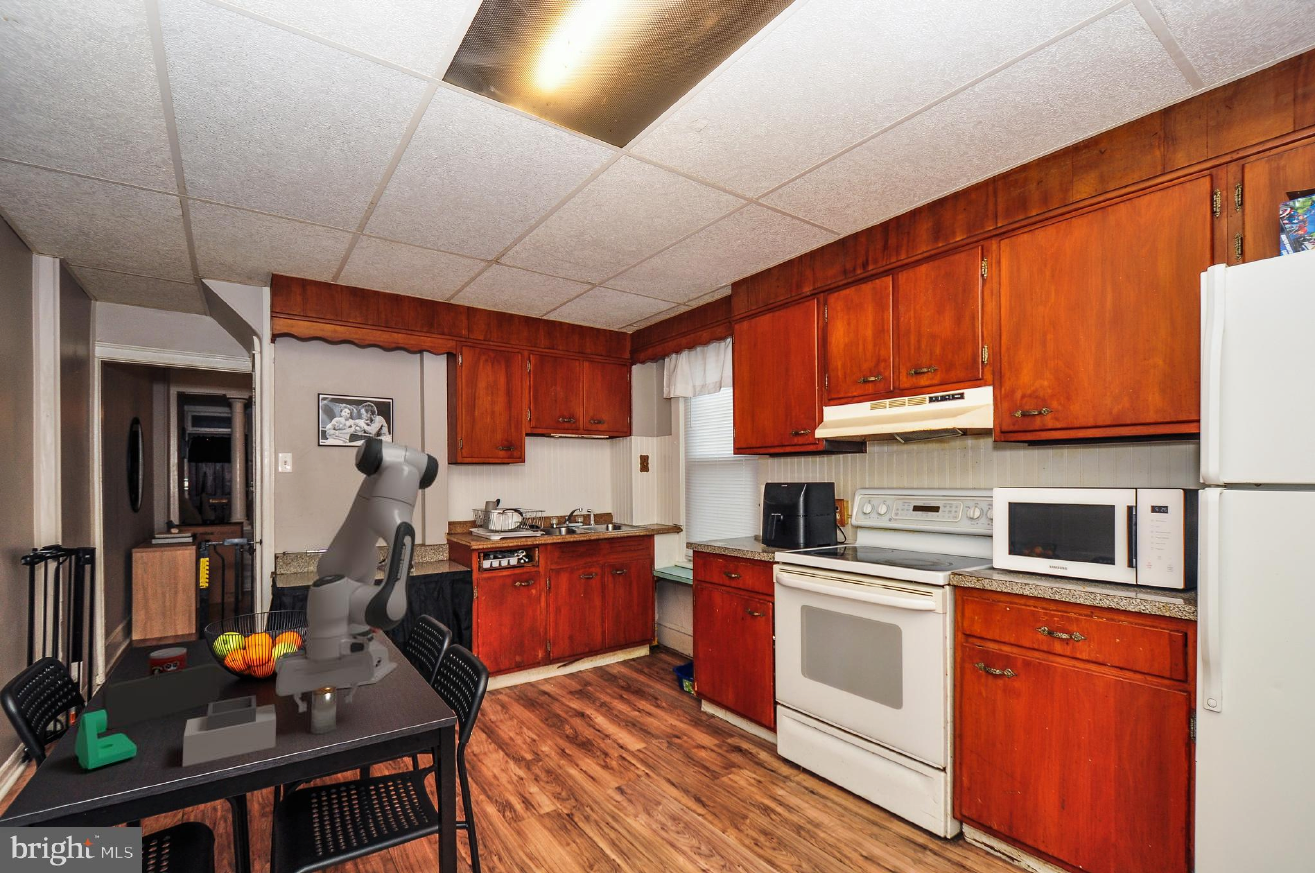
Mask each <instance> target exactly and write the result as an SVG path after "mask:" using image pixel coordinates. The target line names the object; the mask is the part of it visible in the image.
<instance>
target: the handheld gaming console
mask: <svg viewBox="0 0 1315 873" xmlns="http://www.w3.org/2000/svg"><path fill="white" fill-rule="evenodd" d="M220 677H221V666H219V665H218V664H217V663H214V662H213V663H205V664H200V665H197V666H189V667H186V668H184V669H179V670H174V671H169V672H165V673H160V674H155V675H151V676H149V675H147V676H141V677H137V678H132V679H130V680H125V681H120V682H115V683H112V684H110V685H107V686H106V687H105V688H104V689H103V690H102V693H101V694H102V697H101V698H102V699H101V710H105V711H106V715H107V727H106V730H112V729H117V728H123V727H125V726H130V725H134V724H138V723H142V722H145V721H149V720H154V719H157V718H161V717H165V716H168V715H172V714H176V713H180V712H184V711H189V710H192V709H196V708H199V707H200V708H201V707H203V706H207V705H208V706H209V703H213V702H217V700H218V699H219V698H220Z"/></svg>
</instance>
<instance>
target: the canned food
mask: <svg viewBox="0 0 1315 873" xmlns="http://www.w3.org/2000/svg"><path fill="white" fill-rule="evenodd" d="M148 660H149V661H148V662H149V663H148V676H151V675H155V674H160V673H165V672H169V671H174V670H179V669H184V668H187V648H186V647H169V648H162V649H159V650H156V651H153V652H151V653H150V654H149V659H148Z"/></svg>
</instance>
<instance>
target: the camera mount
mask: <svg viewBox="0 0 1315 873" xmlns="http://www.w3.org/2000/svg"><path fill="white" fill-rule="evenodd" d="M79 722H80V723H79V724H78V726H79V727H78V730H77V735H76V739H75V744H74V754H75V755H76V756H77V757H78V763H79V764H80V766H81V767H82V768H83V769H87V770H92V769H94V768H98V767H102V766H104V765H105V766H106V765H108V764H111V763H112V764H113V763H115V762H119V761H123V760H126V759H129V758H132V757H135V756H136V755H137V745H136V744H135V743H134V742H133V741H132V740H130V738H128V736H127V735H126V734H124V733H116V734H111V735H108V736H104V737H101V738H98V734H99V733H104V732H106V731H107V729H106V727H107V715H106V711H105V710H102V709H99V710H96V711H92V712H87V713H83V714H82V715H81V717H80V721H79Z"/></svg>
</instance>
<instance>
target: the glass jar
mask: <svg viewBox="0 0 1315 873" xmlns="http://www.w3.org/2000/svg"><path fill="white" fill-rule="evenodd" d="M337 690H338V688H337V686H336V687H328V688H322V689H317V690H314V691H311V717H310V718H311V720H310V722H311V723H310V724H311V725H310V733H311V734H313V735H322V734H323V735H324V734H328V733H330V732H333V731H334V730H336V725H337V724H336V723H337V722H336V721H337V719H336V718H337V693H338V692H337Z"/></svg>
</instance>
